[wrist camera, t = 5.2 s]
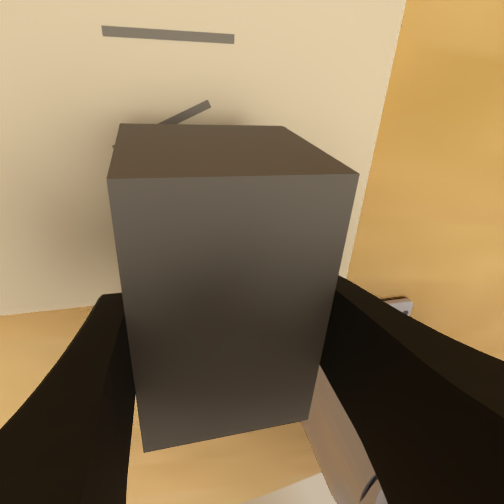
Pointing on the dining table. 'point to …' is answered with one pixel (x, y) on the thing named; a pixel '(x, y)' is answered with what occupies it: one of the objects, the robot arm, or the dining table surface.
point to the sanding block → (225, 273)
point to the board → (163, 110)
